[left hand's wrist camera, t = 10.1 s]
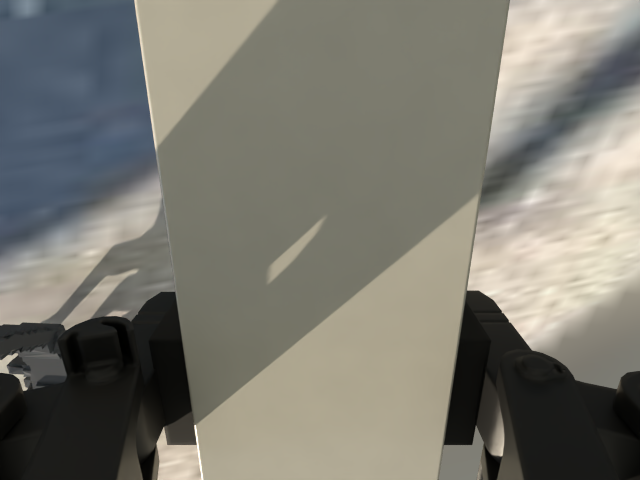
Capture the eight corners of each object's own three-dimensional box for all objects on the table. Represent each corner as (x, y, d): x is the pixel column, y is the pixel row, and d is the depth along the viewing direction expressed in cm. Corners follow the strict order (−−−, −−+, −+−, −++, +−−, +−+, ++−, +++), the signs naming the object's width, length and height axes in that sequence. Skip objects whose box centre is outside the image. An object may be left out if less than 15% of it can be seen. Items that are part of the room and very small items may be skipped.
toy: (152, 262, 35) (-9, 434, 18) (179, 485, 45) (91, 734, 28) (-5, 256, 35) (-315, 423, 18) (56, 481, 45) (-108, 728, 28)
